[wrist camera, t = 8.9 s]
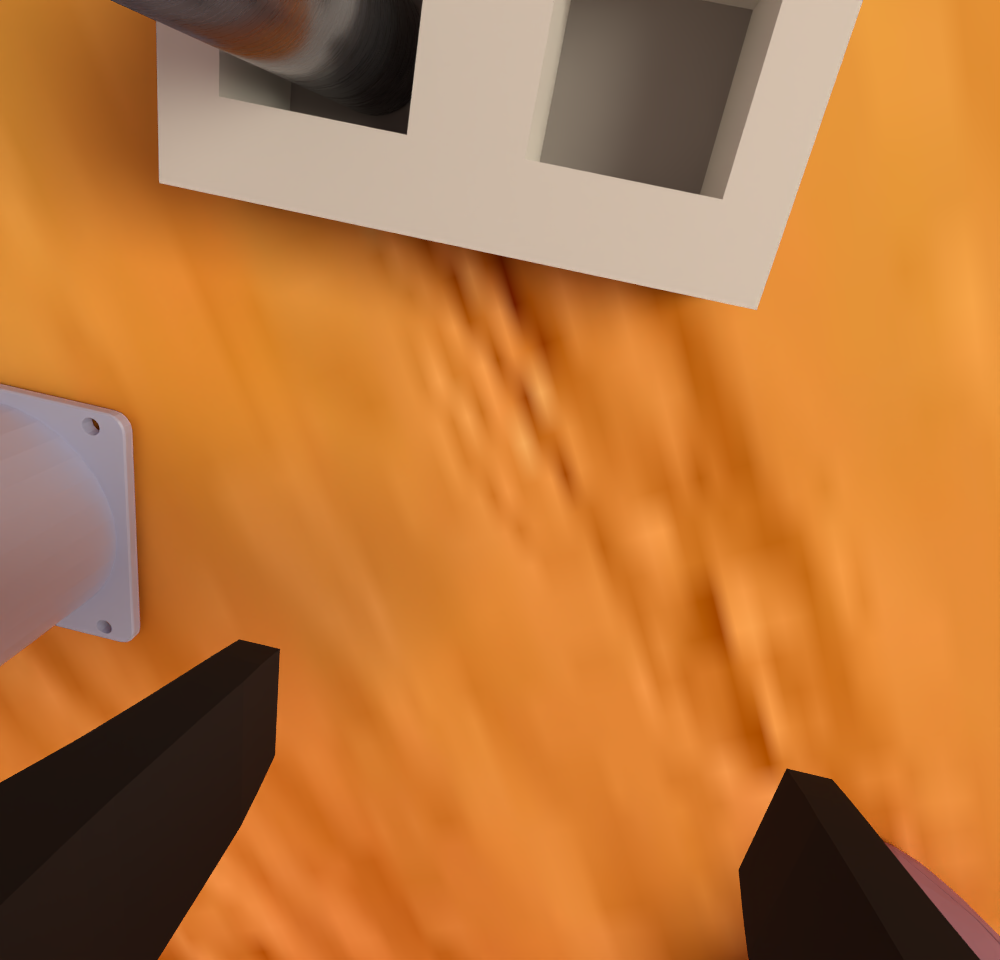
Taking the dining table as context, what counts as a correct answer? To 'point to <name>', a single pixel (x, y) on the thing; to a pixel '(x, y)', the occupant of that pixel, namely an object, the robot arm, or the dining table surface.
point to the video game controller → (953, 909)
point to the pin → (310, 42)
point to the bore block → (541, 134)
